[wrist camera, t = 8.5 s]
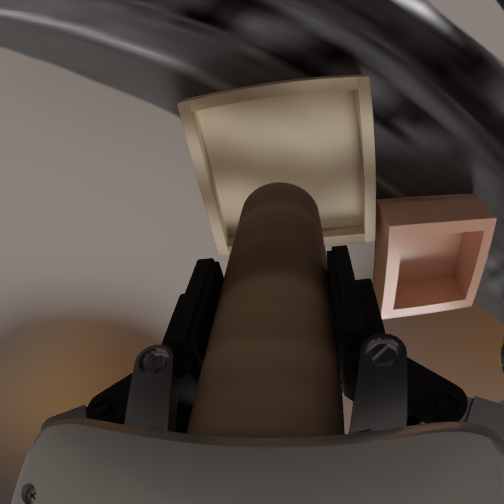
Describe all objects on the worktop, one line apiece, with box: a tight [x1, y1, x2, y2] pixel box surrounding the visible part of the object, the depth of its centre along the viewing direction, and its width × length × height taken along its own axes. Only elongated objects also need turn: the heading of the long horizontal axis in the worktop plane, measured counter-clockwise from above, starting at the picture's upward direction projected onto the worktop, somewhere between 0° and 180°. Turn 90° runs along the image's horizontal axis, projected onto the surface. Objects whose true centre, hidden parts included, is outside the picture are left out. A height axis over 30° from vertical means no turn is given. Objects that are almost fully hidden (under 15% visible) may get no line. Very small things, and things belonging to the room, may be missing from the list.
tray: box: [177, 74, 376, 256], centre depth 21 cm, size 12×12×2 cm
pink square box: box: [373, 194, 497, 319], centre depth 23 cm, size 9×9×4 cm
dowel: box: [187, 182, 345, 438], centre depth 11 cm, size 4×4×14 cm
